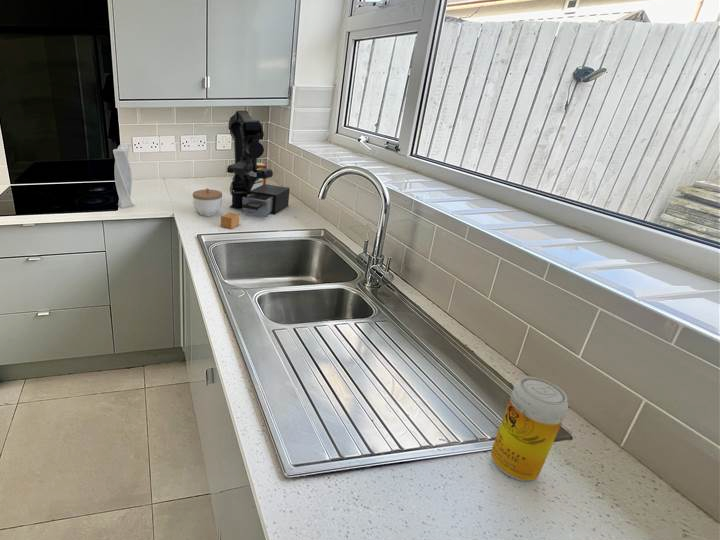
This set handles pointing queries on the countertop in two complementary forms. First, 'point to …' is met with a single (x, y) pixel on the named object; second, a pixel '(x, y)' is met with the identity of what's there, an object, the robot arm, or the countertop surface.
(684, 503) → the countertop surface
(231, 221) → the wooden block
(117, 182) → the skyscraper
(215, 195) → the lidded bowl
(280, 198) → the drawer box
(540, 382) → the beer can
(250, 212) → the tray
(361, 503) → the countertop surface
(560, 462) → the countertop surface
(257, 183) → the baking soda box
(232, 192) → the robot arm
